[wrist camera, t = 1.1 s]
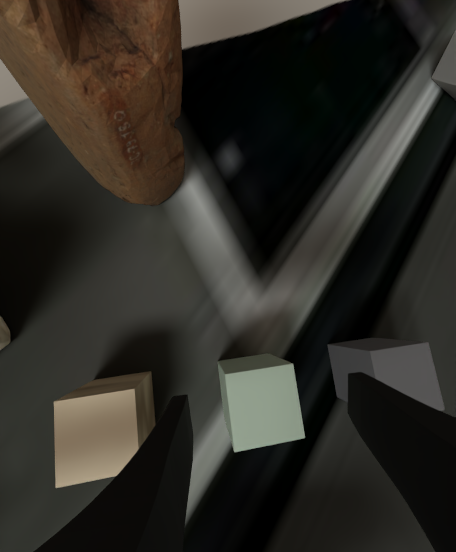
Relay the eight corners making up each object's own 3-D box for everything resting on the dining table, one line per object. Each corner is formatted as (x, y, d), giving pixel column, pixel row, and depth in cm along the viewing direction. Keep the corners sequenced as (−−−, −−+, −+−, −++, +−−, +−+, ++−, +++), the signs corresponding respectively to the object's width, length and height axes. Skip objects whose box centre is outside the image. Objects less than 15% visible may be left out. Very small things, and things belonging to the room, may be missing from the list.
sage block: (276, 407, 22) (305, 438, 16) (224, 417, 22) (234, 452, 16) (268, 353, 23) (293, 363, 17) (217, 361, 22) (224, 374, 17)
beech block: (156, 429, 21) (140, 471, 15) (96, 440, 20) (55, 488, 14) (151, 371, 22) (134, 388, 16) (93, 379, 21) (54, 401, 15)
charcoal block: (383, 388, 24) (445, 409, 18) (336, 396, 23) (384, 422, 17) (372, 337, 24) (428, 342, 18) (327, 344, 24) (369, 351, 18)
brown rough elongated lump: (60, 143, 24) (-527, -628, 5) (127, 101, 26) (-100, -614, 6) (137, 230, 24) (-156, -226, 4) (200, 182, 25) (215, -321, 5)
